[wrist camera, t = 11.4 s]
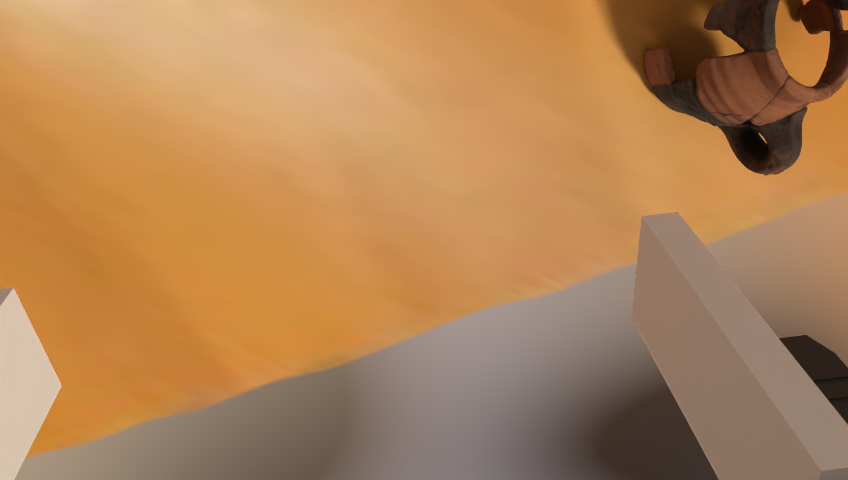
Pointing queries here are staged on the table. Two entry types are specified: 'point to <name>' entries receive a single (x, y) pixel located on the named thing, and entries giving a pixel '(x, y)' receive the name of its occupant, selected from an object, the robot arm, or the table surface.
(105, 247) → the table surface
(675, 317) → the robot arm
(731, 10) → the brown curved piece
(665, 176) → the table surface
